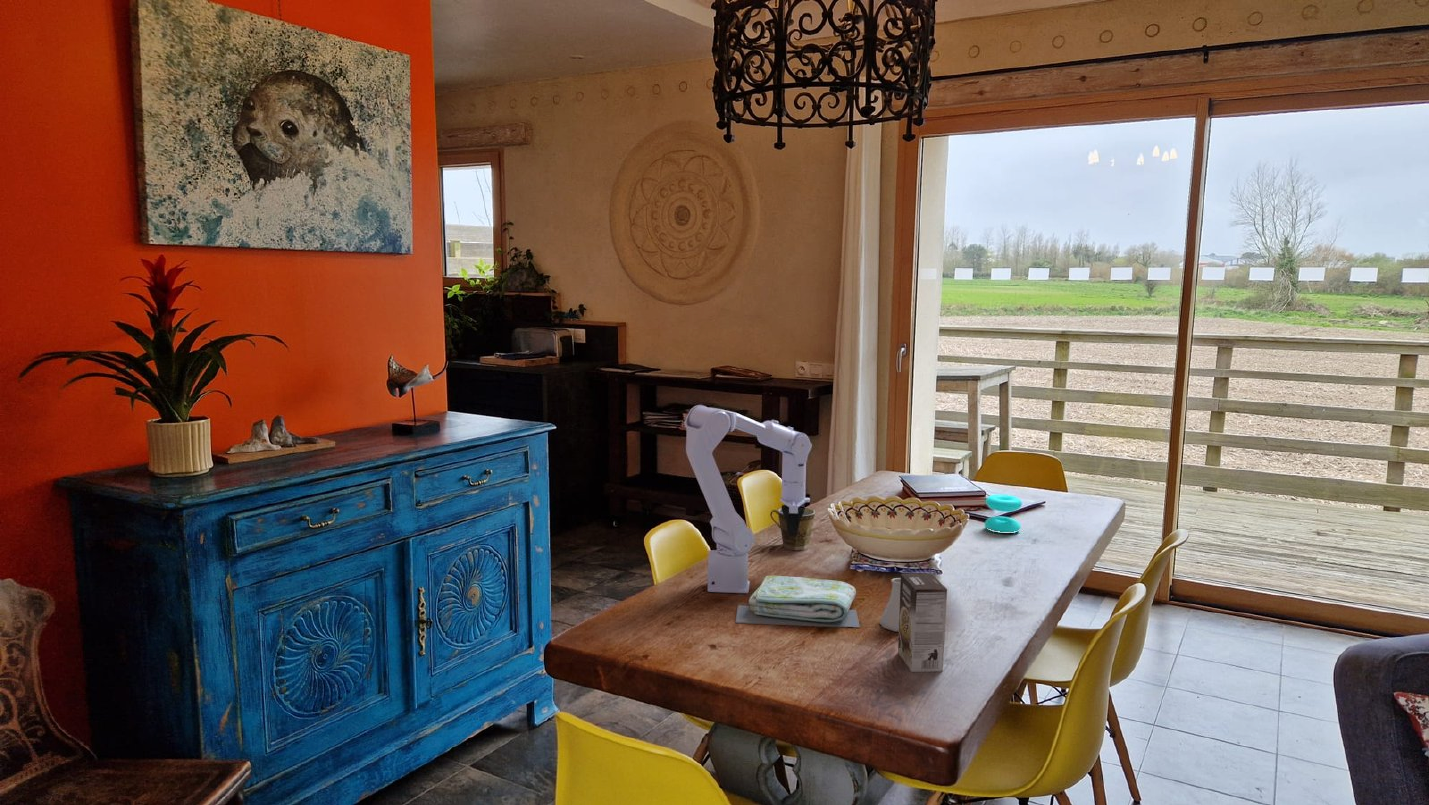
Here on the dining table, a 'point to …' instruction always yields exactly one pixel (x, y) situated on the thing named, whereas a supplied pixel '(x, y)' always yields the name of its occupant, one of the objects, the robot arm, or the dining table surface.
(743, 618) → the slate mat
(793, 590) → the towel
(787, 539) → the ceramic cup
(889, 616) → the flask
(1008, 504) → the donuts
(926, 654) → the coffee box
